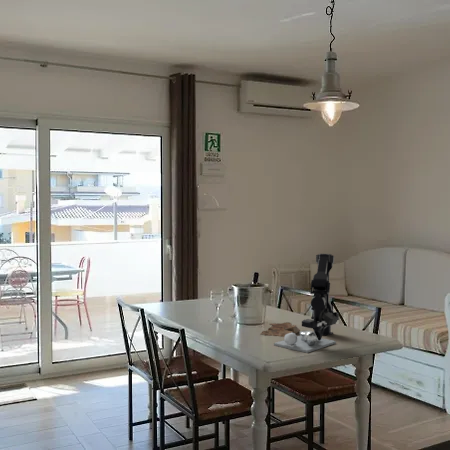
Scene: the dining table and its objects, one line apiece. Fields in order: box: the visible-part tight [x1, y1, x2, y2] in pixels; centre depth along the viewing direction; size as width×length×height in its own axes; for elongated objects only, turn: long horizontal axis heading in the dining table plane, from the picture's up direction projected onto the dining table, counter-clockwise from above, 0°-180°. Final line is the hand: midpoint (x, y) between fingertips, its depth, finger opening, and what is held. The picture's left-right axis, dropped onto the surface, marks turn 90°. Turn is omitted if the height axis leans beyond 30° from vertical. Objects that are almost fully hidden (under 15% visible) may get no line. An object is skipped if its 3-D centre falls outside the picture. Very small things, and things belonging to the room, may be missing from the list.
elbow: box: [299, 330, 317, 345], centre depth 253 cm, size 15×8×5 cm, turn 179°
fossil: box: [259, 322, 301, 338], centre depth 276 cm, size 20×16×5 cm
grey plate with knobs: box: [273, 332, 337, 354], centre depth 253 cm, size 23×18×6 cm
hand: (319, 340), depth 248 cm, fingers closed
